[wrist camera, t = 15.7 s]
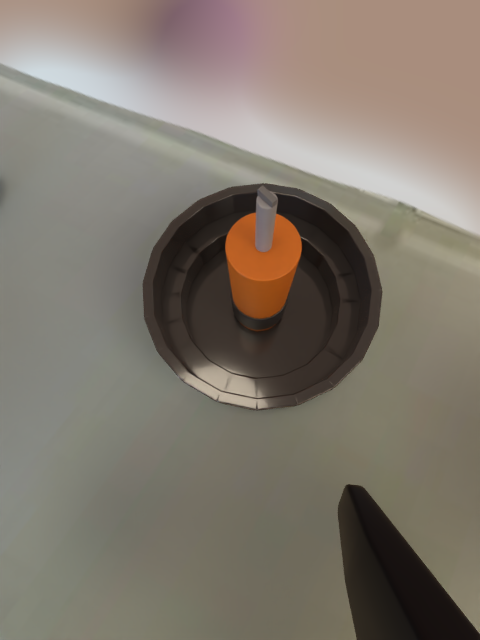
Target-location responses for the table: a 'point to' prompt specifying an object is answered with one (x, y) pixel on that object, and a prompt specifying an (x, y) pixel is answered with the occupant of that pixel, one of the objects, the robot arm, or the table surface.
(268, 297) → the screwdriver
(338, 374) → the bowl
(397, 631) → the robot arm
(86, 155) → the table surface
